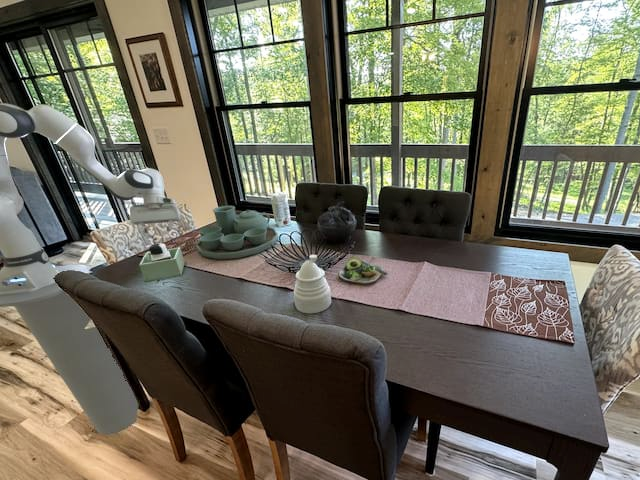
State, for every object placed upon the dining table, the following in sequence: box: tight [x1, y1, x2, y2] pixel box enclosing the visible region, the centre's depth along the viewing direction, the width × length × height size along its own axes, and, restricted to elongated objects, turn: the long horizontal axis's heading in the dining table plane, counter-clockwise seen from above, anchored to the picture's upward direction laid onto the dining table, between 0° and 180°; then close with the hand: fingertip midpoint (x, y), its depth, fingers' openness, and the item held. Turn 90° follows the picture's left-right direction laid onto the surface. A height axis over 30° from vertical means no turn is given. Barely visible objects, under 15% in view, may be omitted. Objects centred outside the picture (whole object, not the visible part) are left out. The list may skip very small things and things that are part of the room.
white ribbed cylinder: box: [270, 191, 292, 228], centre depth 185 cm, size 8×9×19 cm
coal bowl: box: [317, 201, 357, 242], centre depth 160 cm, size 20×20×19 cm
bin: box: [138, 246, 186, 282], centre depth 137 cm, size 14×14×8 cm
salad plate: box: [338, 257, 389, 285], centre depth 128 cm, size 19×18×5 cm
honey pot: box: [293, 254, 332, 314], centre depth 108 cm, size 13×13×18 cm
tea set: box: [195, 205, 279, 260], centre depth 160 cm, size 40×40×16 cm
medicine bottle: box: [148, 242, 172, 262], centre depth 136 cm, size 7×7×12 cm
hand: (157, 231), depth 144 cm, fingers open, 8 cm apart
